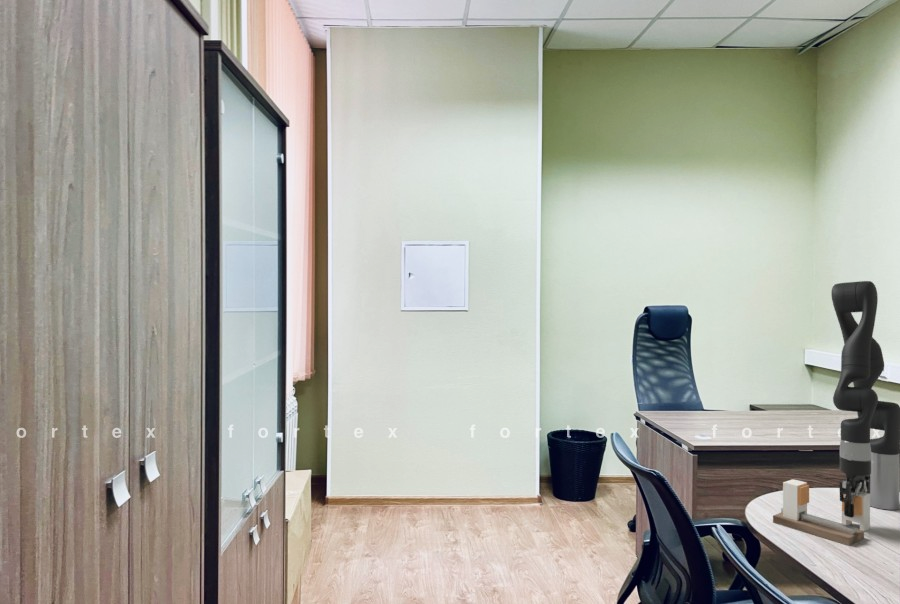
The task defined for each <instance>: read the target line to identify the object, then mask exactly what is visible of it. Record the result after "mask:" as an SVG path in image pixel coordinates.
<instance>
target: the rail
mask: <svg viewBox="0 0 900 604" xmlns="http://www.w3.org/2000/svg"><path fill="white" fill-rule="evenodd" d="M809 503H810V484H808V482H806V481H802V480H797V479H793V478H791V479H790V480H789V479H788V480H786V481H783V482H782V508H780V512H779V513H776V514H774V515H772V523H774V524H777V525H779V526H782V527H783V526H784V527H787V528H790V529H793V530H797V531H799V532H802V533H807V534H810V535H812V536H816V537H819V538H822V539H826V540H829V541H832V542H836V543H839V544H842V545H845V546H848V547H849V546H852V545H853V544H855V543H857V542H859V541H861V540H864V539H865V531H862V530H860V528H859V529H858V528H857V527H856V526H851V525H845V524H842V522H837V521H835V520H830V519H827V518H824V517H819V516H816V515H812V514H809V513H808V504H809Z"/></svg>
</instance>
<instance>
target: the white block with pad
mask: <svg viewBox="0 0 900 604" xmlns="http://www.w3.org/2000/svg"><path fill="white" fill-rule="evenodd" d="M851 493H853V492H851ZM843 497H844V494H843ZM851 497H852V496H851ZM841 523H842V524H845V525H849V526H851V524H853V523H858V524H859V530H862V531H864V532H866V531H868V530H870V529H871V506H870V493H866V492H859V494H858V497H856V498H855V501H854V517H852V518H851V517H847V516H845V515H844V502H841Z"/></svg>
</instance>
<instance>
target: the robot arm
mask: <svg viewBox="0 0 900 604" xmlns="http://www.w3.org/2000/svg"><path fill="white" fill-rule="evenodd" d="M876 287H877V286H876V285H875V284H874V283H873V281H870V280H862V281H861V280H860V281H850V282H840V283H835V284H834V285H832V287H831V302H832V305H833V308H834V311H835V314H836V318H837V322H838V324H839V326H840V327H839V328H840V331H841V334H842V338H843V343H844V345H843V346H842V350H841V357H840V358H841V363H840V364H841V365H840V374H839V375H840V376H839V380H838V383H837V386H836V388H835V390H834V392H833V397H832V401H833V405H834V406H835V408H837V410H839V411H843V412H844V411H845V412H854V413H855V412H856V413H857V417H856V418H846V419H843V420H841V423H840V444H839V471H840V472H841V473H843V474H845V478H844V480H839V501H840V502H841V503H842V502H844V515H845V516H847V517H851V518H852V517H854V501H855V498H856V497H858V494H859V492H866V493H870V507H872V508H876V509H880V510H881V509H882V510H893V511H894V510H895V511H896V510H899V509H900V405H899V404H898V403H896V402H891V401H884V400H879V397H878V394H877V392H876V391H875V390H874V389H873V386H874V385H875V383H876V382H877V380H879V378H880V376H881V375H882V373H883V372H884V369H885V361H884V357H883V352H882V351H883V350H882V347H881V345H880V343H878V342H877V340H876V339H875V338H874V337H873V335H874V328H875V323H876V317H877V316H876V315H877V310H878V301H879V300H878V297H879V296H878V291H877V288H876ZM852 313H861V318H860V321H859V322H858V321H856V319H855V318H854V316H853V314H852ZM850 384H853V386H849V385H850ZM871 430H877V431H883V432H884V433H883V436H881V437H878V438H871ZM851 492H853V493H851ZM843 494H844V497H843ZM851 496H852V497H851Z"/></svg>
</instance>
